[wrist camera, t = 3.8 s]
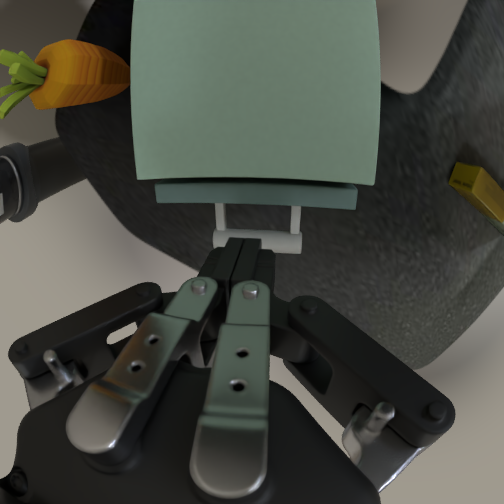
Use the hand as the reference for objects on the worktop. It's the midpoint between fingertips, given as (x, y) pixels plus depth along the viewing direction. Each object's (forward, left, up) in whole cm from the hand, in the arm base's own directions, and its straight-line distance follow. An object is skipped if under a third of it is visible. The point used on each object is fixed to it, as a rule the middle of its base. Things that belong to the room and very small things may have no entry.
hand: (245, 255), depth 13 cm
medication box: (+23, +2, -12) cm, 26 cm away
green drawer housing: (0, +11, -12) cm, 16 cm away
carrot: (-12, +11, -12) cm, 20 cm away
